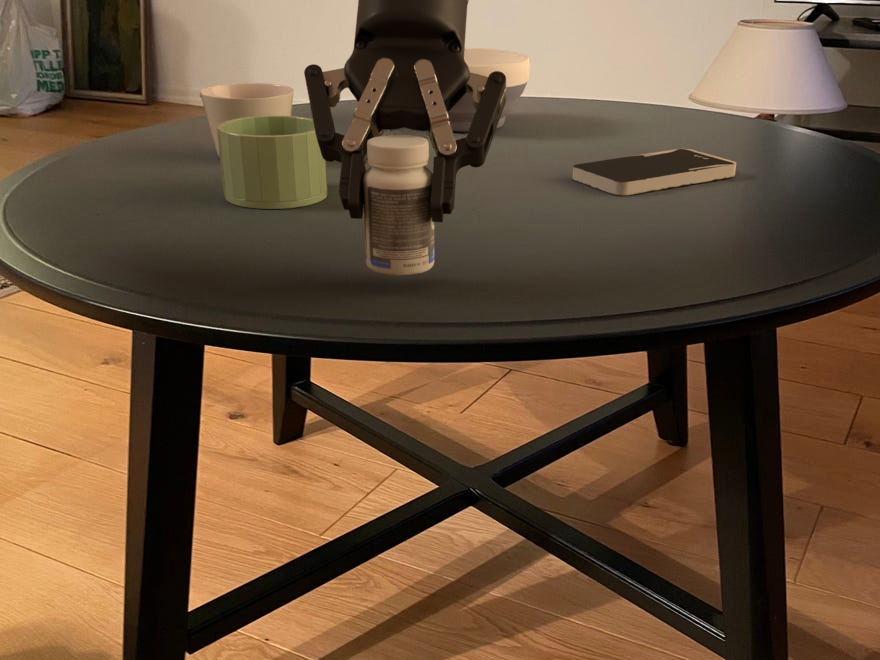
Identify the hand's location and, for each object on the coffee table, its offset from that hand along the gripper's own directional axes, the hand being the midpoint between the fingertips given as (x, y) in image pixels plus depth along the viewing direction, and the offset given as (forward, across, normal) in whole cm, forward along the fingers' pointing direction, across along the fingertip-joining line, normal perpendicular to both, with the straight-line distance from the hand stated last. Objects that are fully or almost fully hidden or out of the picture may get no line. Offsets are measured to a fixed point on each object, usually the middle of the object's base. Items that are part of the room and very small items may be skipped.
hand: (396, 213), depth 67 cm
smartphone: (-21, +21, +29) cm, 41 cm away
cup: (-13, -14, +21) cm, 28 cm away
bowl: (-36, +1, +45) cm, 58 cm away
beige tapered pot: (-23, -19, +32) cm, 44 cm away
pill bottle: (+2, 0, +4) cm, 5 cm away
